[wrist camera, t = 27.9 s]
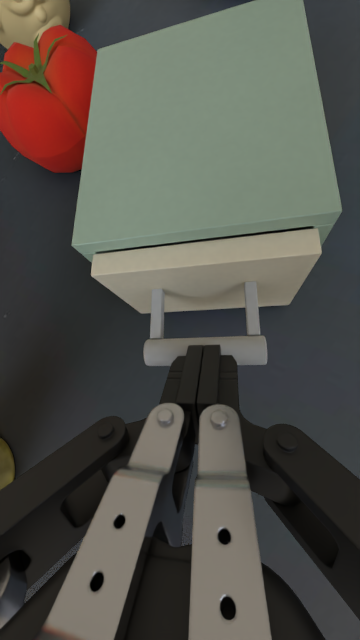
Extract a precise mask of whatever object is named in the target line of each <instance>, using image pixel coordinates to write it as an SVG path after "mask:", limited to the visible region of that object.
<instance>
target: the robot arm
mask: <svg viewBox="0 0 360 640" xmlns="http://www.w3.org/2000/svg"><path fill="white" fill-rule="evenodd" d="M195 444H199V448H198V475H197V477H196V479H195V487H194V511H193V537H192V544H191V545H186V546H181V544H182V531H183V529H182V523H183V514H184V509H185V504H186V499H187V494H188V489H189V484H190V479H191V474H192V468H193V454H194V446H195ZM251 491H253V492H256V493H258V494H260V495H262V496H264V498H265V500H266V502H267V503H268V504H269V506H270V507H271V508H272V510H273V511H274V512H275V513H276V515H277V516H278V517H279V518H280V520H281V521H282V522H283V523H284V525H285V526H286V527H287V529H288V530H289V531H290V532H291V534H292V535H293V536H294V537H295V539H296V540H297V541H298V543H299V544H300V545H301V546H302V548H303V549H304V550H305V551H306V553H307V554H308V555H309V556H310V558H311V559H312V560H313V562H314V563H315V564H316V565H317V567H318V568H319V569H320V570H321V572H322V573H323V574H324V575H325V577H326V578H327V579H328V581H329V582H330V583H331V584H332V586H333V587H334V588H335V589H336V591H337V592H338V593H339V595H340V596H341V597H342V598H343V600H344V601H345V602H346V603H347V605H348V606H349V607H350V608H351V610H352V611H353V612H354V614H355V615H356V616H357V617H358V619H359V620H360V479H358V478H357V477H356V476H355V475H354V474H353V473H351V472H350V471H349V470H348V469H347V468H345V467H344V466H343V465H342V464H341V463H339V462H338V461H337V460H336V459H335V458H333V457H332V456H331V455H330V454H329V453H327V452H326V451H325V450H324V449H323V448H321V447H320V446H319V445H318V444H317V443H315V442H314V441H313V440H312V439H311V438H309V437H308V436H307V435H306V434H305V433H303V432H302V431H301V430H299V429H298V428H296V427H294V426H291V425H288V424H276V425H273V426H271V427H269V428H268V429H265V428H262V427H259V426H256V425H254V424H252V423H250V422H249V421H247V420H246V419H245V418H244V417H243V416H242V414H241V412H240V410H239V396H238V375H237V362H236V360H235V359H234V357H233V356H232V355H221V346H220V344H217V345H205V346H204V345H189V346H188V349H187V353H186V356H177V358H176V359H175V360H174V361H173V362H172V364H171V367H170V370H169V374H168V377H167V380H166V384H165V387H164V390H163V394H162V397H161V400H160V403H159V405H158V406H156V407H155V408H153V409H152V410H151V412H150V413H149V415H148V417H147V418H146V419H144V420H141V421H137V422H133V423H129V424H125V423H124V421H123V420H122V419H121V418H119V417H117V416H109V417H106V418H103V419H101V420H99V421H98V422H96V423H95V424H93V425H92V426H91V427H89V428H88V429H86V430H85V431H83V432H82V433H81V434H79V435H78V436H76V437H75V438H74V439H72V440H71V441H69V442H68V443H66V444H65V445H64V446H62V447H61V448H59V449H58V450H56V451H55V452H54V453H52V454H51V455H49V456H48V457H47V458H45V459H44V460H42V461H41V462H39V463H38V464H37V465H35V466H34V467H32V468H31V469H29V470H28V471H27V472H25V473H24V474H22V475H21V476H19V477H18V478H17V479H15V480H14V481H12V482H11V483H10V484H8V485H7V486H5V487H4V488H2V489H1V490H0V640H325V638H324V636H323V635H322V633H321V632H320V630H319V629H318V627H317V626H316V624H315V622H314V621H313V619H312V618H311V616H310V615H309V613H308V611H307V610H306V608H305V607H304V605H303V604H302V602H301V601H300V599H299V598H298V597H297V596H296V594H295V593H294V592H293V590H292V589H291V588H290V587H289V586H288V585H287V584H286V582H285V581H284V580H283V579H282V578H281V577H280V576H279V575H277V574H276V573H275V572H274V571H273V570H272V569H270V568H269V567H268V566H266V565H265V564H263V563H262V562H261V560H260V553H259V546H258V539H257V532H256V525H255V518H254V511H253V504H252V496H251ZM84 536H85V537H84ZM83 537H84V539H83V541H82V543H81V546H80V548H79V550H78V552H77V553H76V554H75V555H73V556H72V557H71V558H70V559H69V560H68V561H67V562H66V563H65V564H64V565H63V566H62V567H61V568H60V569H59V570H58V571H57V572H56V573H55V574H54V575H53V576H52V577H51V578H50V579H49V580H48V581H47V582H46V583H45V584H44V585H43V586H42V587H41V588H40V589H39V590H38V591H37V592H36V593H35V594H34V595H33V596H32V597H31V598H30V599H29V600H28V601H27V602H26V603H25V602H24V599H25V596H26V592H27V590H28V589H29V588H30V587H31V586H32V585H33V584H34V583H35V582H36V581H37V580H38V579H40V578H41V577H42V576H43V575H44V574H45V573H46V572H47V571H48V570H49V569H50V568H51V567H52V566H53V565H54V564H55V563H56V562H57V561H59V560H60V559H61V558H62V557H63V556H64V555H65V554H66V553H67V552H68V551H69V550H70V549H71V548H72V547H73V546H74V545H75V544H77V543H78V542H79V541H80V540H81V539H82V538H83Z"/></svg>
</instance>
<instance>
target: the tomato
mask: <svg viewBox="0 0 360 640" xmlns="http://www.w3.org/2000/svg"><path fill="white" fill-rule="evenodd" d="M38 36H39V33H38V35H37V37H36V39H35V40H34V48H33V47H30V46H26V45H23V44H20V43H17V42H13V44H12V45H11V46H10V48H9V49H8V50H7V52H6V53H5V56H4V61H3V62H1V63H0V64H3V72H2V73H0V130H1V132H2V133H3V135H4V136H5V137H6V139H7V140H8V141H9V143H10V144H11V145H12V146H13V147H14V148H15V149H16V150H17V151H19V152H20V153H21V154H22V155H23V156H25V157H26V158H28V159H30V160H32V161H34V162H35V163H37V164H39V165H41V166H43V167H44V168H46V169H48V170H50V171H52V172H54V173H65V172H75V171H78V170H81V169H82V163H83V156H84V148H85V141H86V133H87V126H88V118H89V111H90V103H91V96H92V88H93V81H94V73H95V66H96V58H97V52H96V50H95V49H94V48H93V47H92V46H91V45H90V44H89V43H88V42H87V41H86V39H84V38H82V37H81V36H79V35H77V34H75V33H73V32H72V31H70V30H68V29H67V28H65V27H63V26H62V25H57V26H53V27H50V28H49V29H47V30H46V31H44V32H43V33H42V35H41V38H40V40H39V42H37V39H38Z"/></svg>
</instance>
